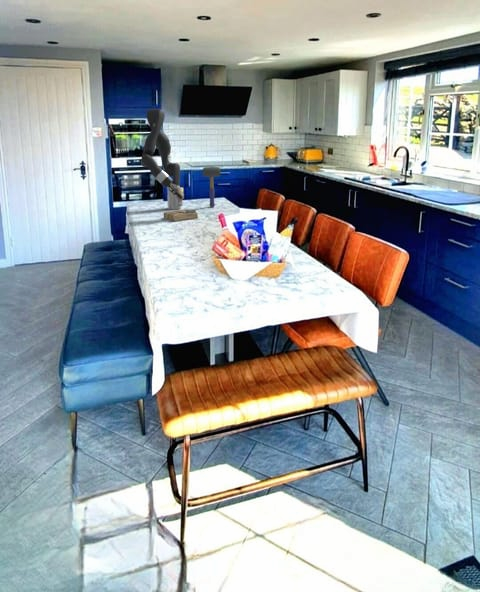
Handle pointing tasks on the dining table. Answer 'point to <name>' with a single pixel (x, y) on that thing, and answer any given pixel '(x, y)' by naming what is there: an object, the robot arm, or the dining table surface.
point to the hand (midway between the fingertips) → (182, 197)
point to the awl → (181, 195)
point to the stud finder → (191, 211)
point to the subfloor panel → (180, 215)
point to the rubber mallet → (211, 180)
